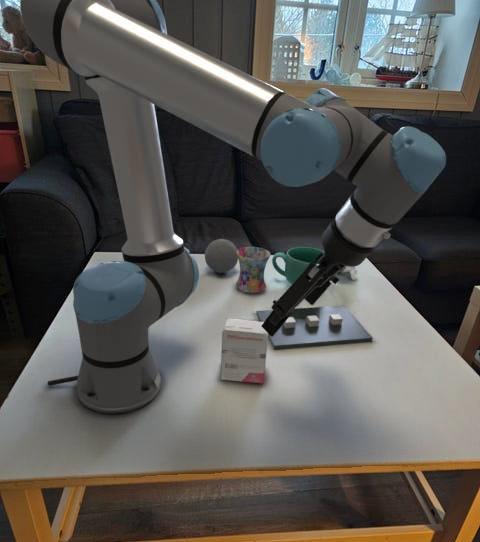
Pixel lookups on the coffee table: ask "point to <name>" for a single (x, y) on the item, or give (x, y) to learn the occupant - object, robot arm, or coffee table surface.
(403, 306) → the coffee table surface
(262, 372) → the ink box
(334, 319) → the chalk flake
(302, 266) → the mug
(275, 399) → the coffee table surface
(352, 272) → the white figurine
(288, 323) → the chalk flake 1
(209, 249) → the decorative ball
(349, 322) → the slate board
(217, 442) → the coffee table surface
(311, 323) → the chalk flake
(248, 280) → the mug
